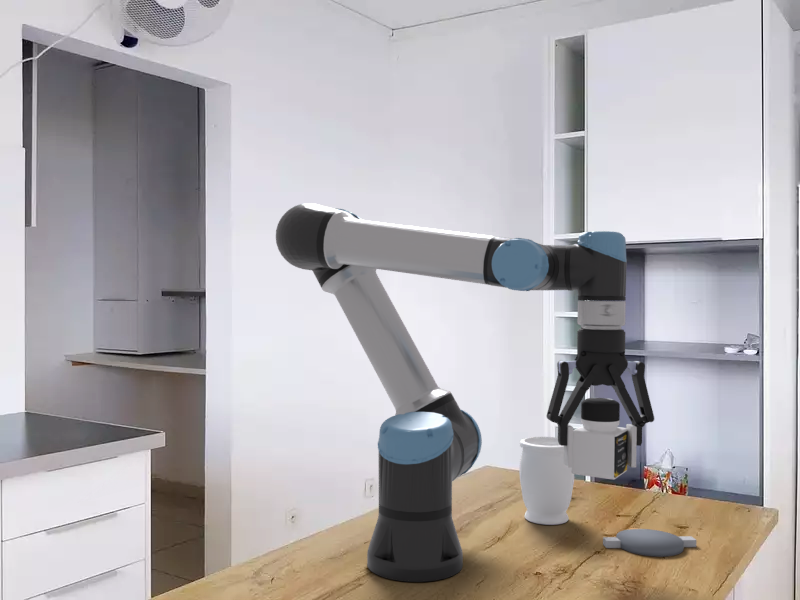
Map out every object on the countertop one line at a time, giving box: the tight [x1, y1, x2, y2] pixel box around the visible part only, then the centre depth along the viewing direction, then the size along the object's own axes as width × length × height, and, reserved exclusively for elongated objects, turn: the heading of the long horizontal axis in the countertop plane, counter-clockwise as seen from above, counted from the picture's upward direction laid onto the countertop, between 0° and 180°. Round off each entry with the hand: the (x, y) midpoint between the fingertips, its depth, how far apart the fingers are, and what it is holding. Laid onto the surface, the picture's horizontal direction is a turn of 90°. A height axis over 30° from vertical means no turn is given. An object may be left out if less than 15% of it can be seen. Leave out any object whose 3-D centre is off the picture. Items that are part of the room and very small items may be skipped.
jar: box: [518, 436, 575, 526], centre depth 148 cm, size 11×10×15 cm
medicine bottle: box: [571, 397, 628, 480], centre depth 125 cm, size 7×7×12 cm
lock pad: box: [602, 527, 697, 557], centre depth 134 cm, size 16×13×1 cm
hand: (599, 465), depth 125 cm, fingers closed on medicine bottle, 10 cm apart
